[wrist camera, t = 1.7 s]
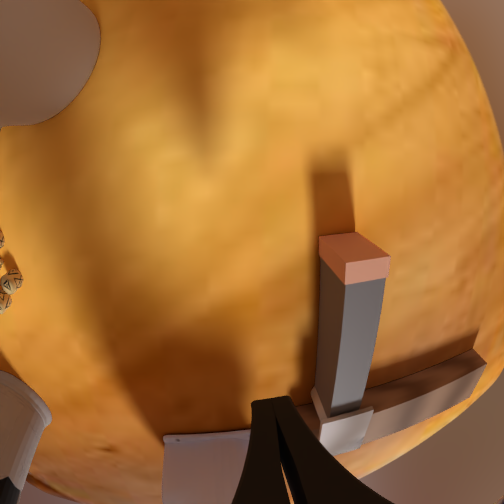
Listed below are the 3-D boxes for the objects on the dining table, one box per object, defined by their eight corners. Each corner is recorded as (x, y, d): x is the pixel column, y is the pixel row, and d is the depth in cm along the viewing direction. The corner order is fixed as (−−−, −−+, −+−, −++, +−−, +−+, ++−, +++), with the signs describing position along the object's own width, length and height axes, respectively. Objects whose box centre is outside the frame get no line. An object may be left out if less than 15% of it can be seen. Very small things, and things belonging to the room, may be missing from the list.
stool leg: (341, 396, 23) (356, 429, 20) (309, 403, 23) (322, 439, 19) (360, 231, 18) (393, 255, 14) (315, 236, 17) (342, 263, 14)
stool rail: (291, 438, 25) (302, 477, 21) (293, 379, 22) (308, 427, 17) (457, 382, 27) (477, 407, 22) (482, 321, 24) (510, 346, 19)
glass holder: (44, 389, 20) (-5, 514, 6) (65, 453, 24) (43, 544, 11) (-20, 358, 18) (-79, 457, 4) (11, 429, 23) (-20, 510, 9)
